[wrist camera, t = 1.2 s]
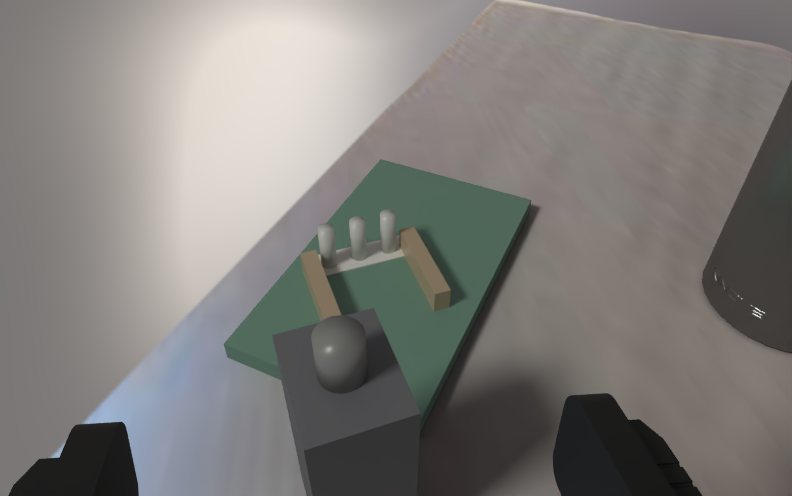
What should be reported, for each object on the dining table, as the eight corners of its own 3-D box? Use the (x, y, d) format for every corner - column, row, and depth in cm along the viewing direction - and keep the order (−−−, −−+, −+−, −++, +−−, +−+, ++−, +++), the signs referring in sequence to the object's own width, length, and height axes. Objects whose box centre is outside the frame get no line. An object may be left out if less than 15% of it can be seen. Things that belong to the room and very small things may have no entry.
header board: (380, 172, 50) (379, 125, 47) (528, 213, 46) (537, 165, 43) (227, 357, 36) (213, 308, 34) (418, 436, 33) (420, 389, 30)
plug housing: (379, 453, 32) (372, 271, 23) (414, 548, 28) (422, 377, 20) (302, 478, 31) (264, 298, 22) (329, 580, 28) (296, 415, 19)
